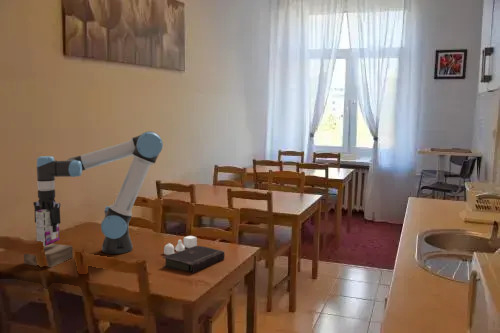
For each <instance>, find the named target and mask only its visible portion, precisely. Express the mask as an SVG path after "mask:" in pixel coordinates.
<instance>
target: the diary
mask: <svg viewBox="0 0 500 333" xmlns="http://www.w3.org/2000/svg"><path fill="white" fill-rule="evenodd" d="M225 257H226V256H225V250H220V249H216V248H211V247H207V246H202V245H197V246H194V247H191V248H185V250H183V251H176V252H174V253H173V254H170V255H165V256H162V259H165V265H162V268H167V269H172V270H175V271H183V272H188V273H191V274H195V273H196V272H197V273H198V272H199V271H201V270H203V269H205V268H207V267H210V266H212V265H214V264H216V263H218V261H219V262H221V261H223V260H224V259H225Z"/></svg>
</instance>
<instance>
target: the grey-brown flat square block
mask: <svg viewBox="0 0 500 333" xmlns="http://www.w3.org/2000/svg"><path fill="white" fill-rule="evenodd" d="M44 251H45V256H46V260H47V265H48V267H47V268H53V267H56V266H57V264H58V265H60V264H62V263H65V262H66V260H67V261H69V260H71V259H70V258H72V259H73V258H74V256H73V255H74V254H73V253H74V252H73V245H67V244H66V245H65V244H59V243H52V244H49V245H47V246H44ZM68 259H69V260H68ZM64 261H65V262H64ZM23 262H24V263H23V264H24V265H29V266H36V267H37V261H36V256H35V255H31V254H24V253H23Z"/></svg>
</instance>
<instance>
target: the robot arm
mask: <svg viewBox="0 0 500 333" xmlns="http://www.w3.org/2000/svg"><path fill="white" fill-rule="evenodd" d="M163 146H164V145H163V140H162V138H161V136H160V135H159V134H158V132H154V131H152V130H151V131H150V130H149V131H145V132H143V133H141V134H139V135H137V136H134V137H131V139H130V140H127V141H124V142H121V143H118V144H115V145H112V146H111V145H110V146H108V147H104V148H101V149H98V150H94V151H90V152H87V153H85V154H81V155H76V156H73V157H70V158H68V159H65V160H56V159H55V158H54V156H51V155H50V156H49V155H47V156H46V155H44V156H43V155H42V156H39V157H37V159H36V176H37V177H36V178H37V179H36V180H37V181H36V182H37V198H38V201H34V202H33V206H34V212H35V211H38V210H41V209H47V210H49V211H50V220H51V224H52V225H51V226H50V235H51V240H52V239H55V238H56V232H57V224H59V225H60V224H61V209H60V208H61V203H60V202H59V203H58V202H56V200H55V198H56V190H55V189H56V182H55V181H56V177H57V178H58V177H59V178H63V177H67V178H68V177H69V178H76V177H81V175H82V173H83V171H85V170H89V169H93V168H96V167H99V166H103V165H105V164H109V163H112V162H113V163H114V162H116V161H119V160H123V159H126V158H130V157H133V159H132V162H131V164H130V166H129V168H128V171H127V173H126V175H125V177H124V180H123V182H122V185H121V187H120V189H119V191H118V194H117V196H116V198H115V201H114V202H113V204H111V205H109V206H105V207H104V218H103V220H102V221H101V223H100V227H101V233H102V234H103V235H104V239H103V242H102V246H101V251H102V252H103V253H105V254H110V255H116V254H117V255H119V254H125V253H126V254H127V253H129V252H131V251H132V250H133V242H132V239H131V237H130V229H129V226H130V225H129V223H130V221H131V219H132V216H133V213H132V209H133V206H134V204H135V202H136V200H137V198H138V196H139V193H140V190H141V188H142V186H143V184H144V181H145V180H146V177H147V174H148V172H149V170H150V168H151V166H152V165H155V164H156V161H157V159H158V157H159V155H160V153H161V152H162V150H163ZM50 209H51V210H50ZM34 223H35V224H36V214H35V213H34Z"/></svg>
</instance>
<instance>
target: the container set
mask: <svg viewBox="0 0 500 333" xmlns="http://www.w3.org/2000/svg"><path fill="white" fill-rule="evenodd" d="M197 240H198V238H197V236H193V235H187V236H184V237H183V240H182V239H178V241H177V244H176V245H175V247H174V245H173V244H172V243H170V242H168V243H167V244H165V246H164V248H163V249H164V250H163V254H164V255H165V256H168V255H170V254H173V253H175V252H181V251H183V250H186V249H188V248H191V247H194V246H198V241H197ZM175 250H176V251H175Z"/></svg>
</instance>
